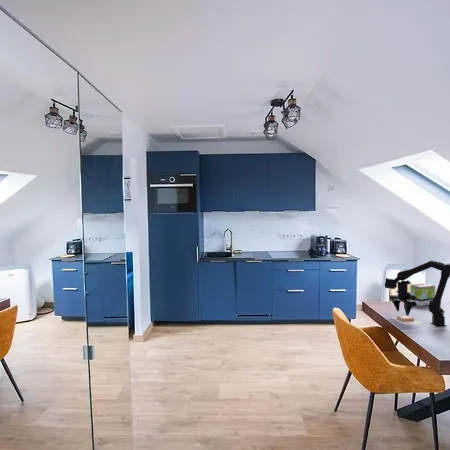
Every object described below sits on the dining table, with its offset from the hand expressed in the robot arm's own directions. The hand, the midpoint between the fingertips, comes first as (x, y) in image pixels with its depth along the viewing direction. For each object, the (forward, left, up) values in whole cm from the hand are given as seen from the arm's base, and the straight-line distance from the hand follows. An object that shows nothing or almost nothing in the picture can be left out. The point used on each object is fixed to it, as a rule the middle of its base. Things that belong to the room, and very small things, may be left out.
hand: (402, 313), depth 209 cm
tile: (-5, 0, -3) cm, 6 cm away
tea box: (+31, -39, -4) cm, 50 cm away
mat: (-4, 0, -4) cm, 6 cm away
